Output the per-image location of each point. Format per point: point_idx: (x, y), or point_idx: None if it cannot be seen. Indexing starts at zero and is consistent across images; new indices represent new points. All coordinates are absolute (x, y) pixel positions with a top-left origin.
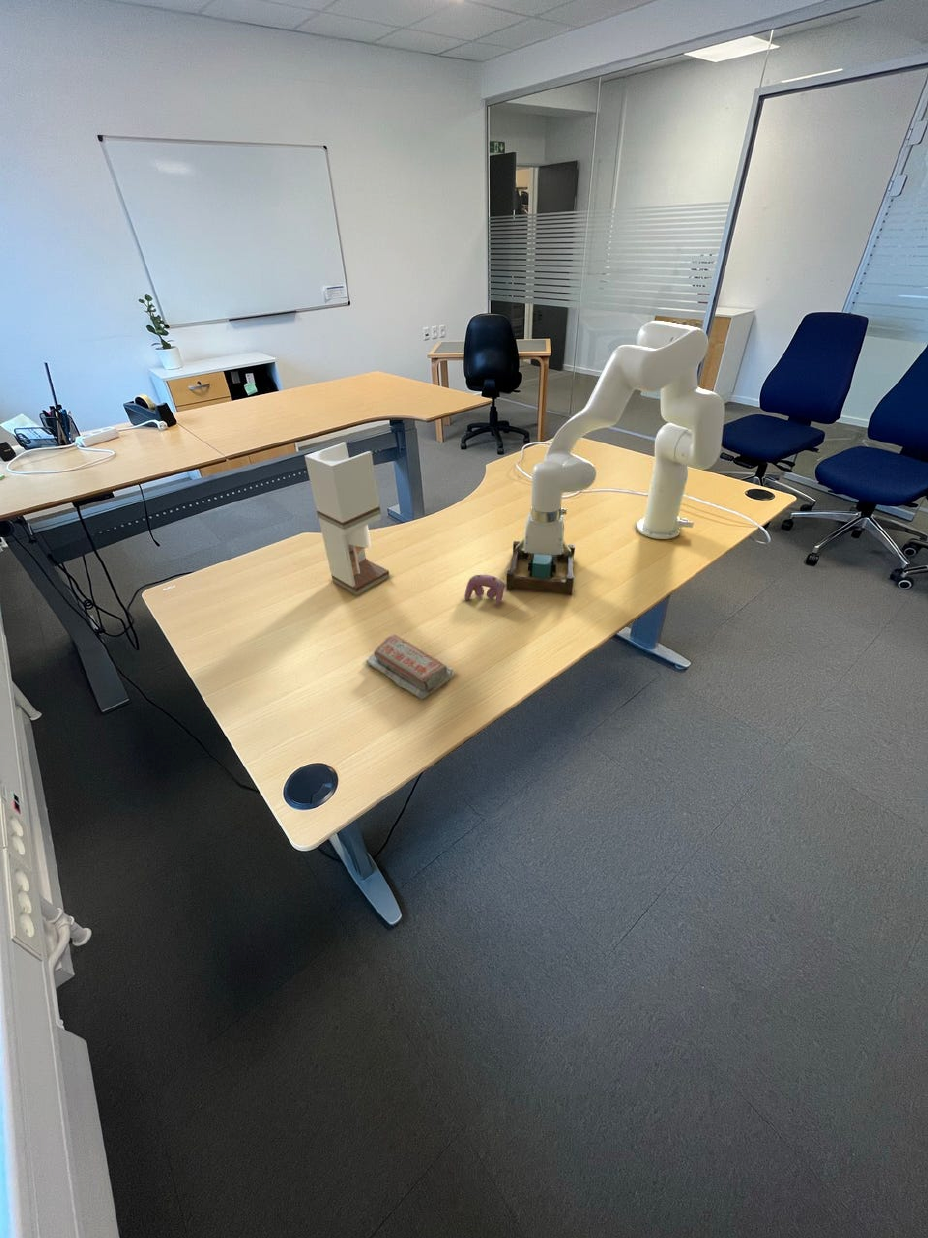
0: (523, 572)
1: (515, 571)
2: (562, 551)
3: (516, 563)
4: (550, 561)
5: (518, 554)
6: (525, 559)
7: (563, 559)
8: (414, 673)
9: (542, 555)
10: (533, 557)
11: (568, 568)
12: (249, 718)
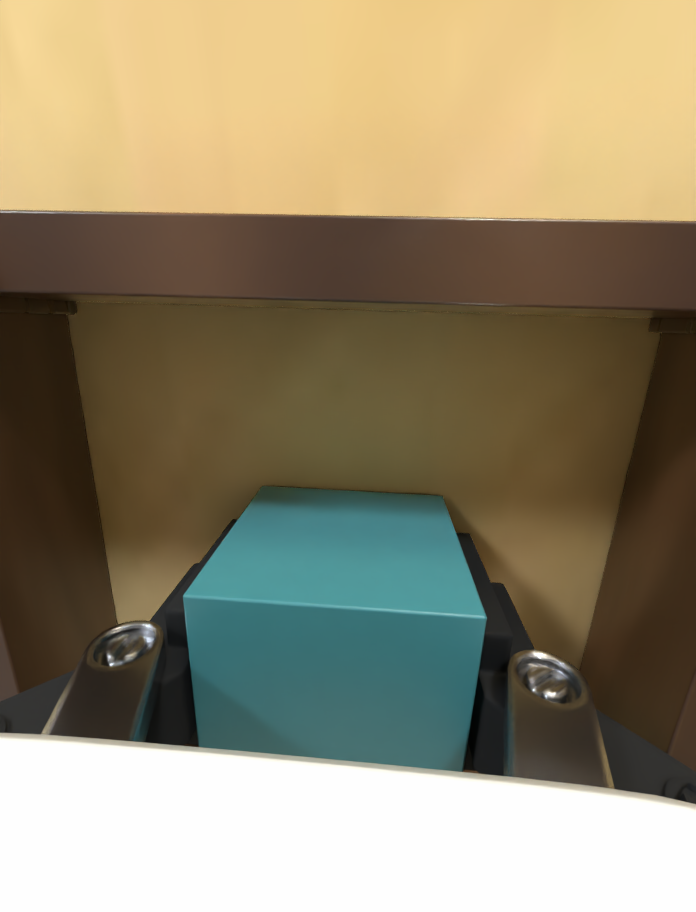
0: (178, 545)
1: (100, 551)
2: (693, 305)
3: (55, 499)
4: (451, 770)
5: (9, 311)
6: (146, 303)
7: (629, 315)
8: None
9: (323, 632)
10: (226, 304)
11: (675, 749)
12: None
